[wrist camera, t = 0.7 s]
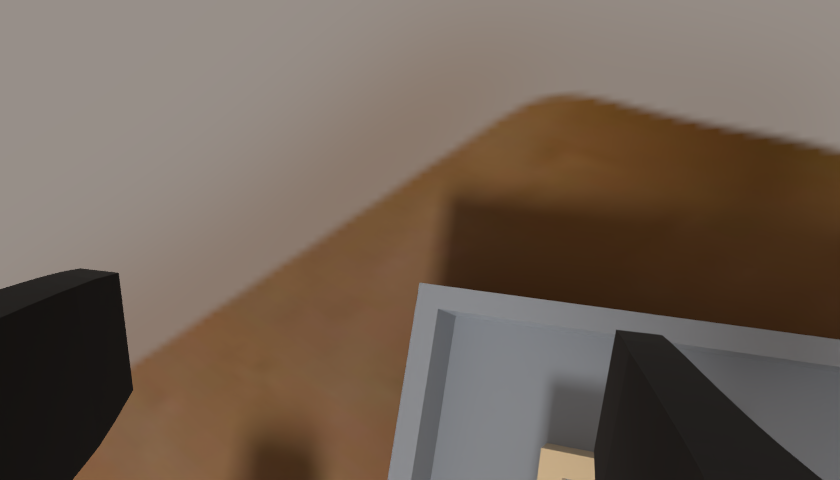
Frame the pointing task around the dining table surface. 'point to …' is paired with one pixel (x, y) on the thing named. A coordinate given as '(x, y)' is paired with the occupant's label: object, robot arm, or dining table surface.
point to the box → (583, 385)
